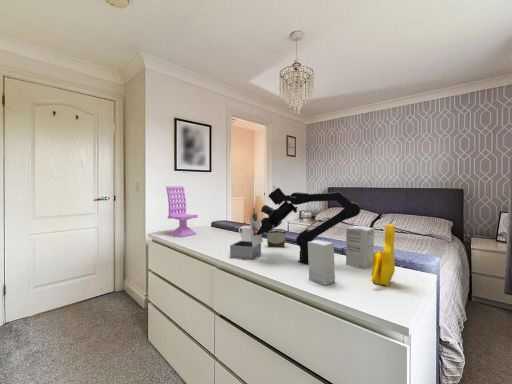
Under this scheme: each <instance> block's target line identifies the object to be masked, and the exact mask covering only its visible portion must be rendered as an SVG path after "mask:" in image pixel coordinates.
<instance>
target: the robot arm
mask: <svg viewBox="0 0 512 384" xmlns="http://www.w3.org/2000/svg"><path fill="white" fill-rule="evenodd" d="M267 197H268V198H269V199H270V200H271V201H272V203H274V205H276V206H277V205H278V208H276V209H274V208H272V207H270V206H269V205H267V204H264V205H263V206H262V207H261V209H260V212H262V213H263V214H265V215H267V217H266V216H265V217H263V218H262V219H260V222H261V227H260V229H259V231H258V232H257V235H260V234H262V235H263V234H267V233H266V232H268V231H270V230H272V229H276V228H277V227H279V226H280V225H281V224H282V223H283V222H282V221H283V220H285V219H286V218H287V217H288V216H289V215H290V214H291V213H292V212H293V213H295V214H296V213H298V205H302V204H306V203H313V202H315V203H316V202H330V201H331V202H333V201H335V202H337V203H338V204H339V205H340V206H341V207H343V208H342V209H341V210H340V211H339V212H338V213H336V214H335V215H333V216H331V217H330V218H328V219H327V220H325V221H323V222H322V223H321V224H318V225H317V226H315V227H313V228H312V229H309V228H308V227H307V228H306V229H305V230H302V231H300V232H299V233H298V236H296V240H295V241H296V245H298V247H299V260H298V261H297V262H298V263H301V264H304V265H306V266H307V265H308V266H309V261H308V242H310V241H314V240H315V239H316V238H317V237H318V236H320V235H322V234H323V233H324V232H326V231H328V230H330V229H331V228H333V227H335V226H337V225H338V224H340V223H341V222H344V221H346V220H349V219H353V218H354V217H357V216H359V214H360V212H361V207H360V205H359V203H357V202H354V201H351V200H350V199H349V198H347V197H346V196H345V195H343V194H342V192H340V191H335V192H334V191H333V192H320V193H307V192H306V193H305V192H299V191H298V192H292V193H291V194H287V195H286V194H285V193H284V191H282V189H281V188H280V187H277V188H276V189H275V190H273V191H271V192H270V193H269V195H267Z"/></svg>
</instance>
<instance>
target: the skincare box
mask: <svg viewBox="0 0 512 384" xmlns="http://www.w3.org/2000/svg"><path fill="white" fill-rule="evenodd" d="M334 245H335V244H334V242H331V241H327V240H326V241H325V240H320V239H313V240H312V241H310V242H308V261H309V265H308V279H309V280H310V281H313V282H315V283H318V284H321V285H324V286H327V285H331V284H333V283H335V282H336V275H335V273H336V271H335V268H336V267H335V247H334Z"/></svg>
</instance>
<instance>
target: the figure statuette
mask: <svg viewBox="0 0 512 384" xmlns="http://www.w3.org/2000/svg"><path fill="white" fill-rule="evenodd" d="M384 231H385V232H384V242H383V250H380V249H379V250H377V251H376V252H374V258H372V263H373V265H372V271H371V281H372V282H373V283H374V284H380V285H382V286H386V287H388V286H389V284H390V282H391V280H392V278H393V276H394V273H395V271H396V270H395V269H396V268H395V267H396V266H395V236H396V235H395V234H396V227H395V224H390V223H386V224H385V230H384Z"/></svg>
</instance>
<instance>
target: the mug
mask: <svg viewBox="0 0 512 384" xmlns="http://www.w3.org/2000/svg"><path fill="white" fill-rule="evenodd" d="M238 232H239V236H240V238H241V241H250V242H252V237H251V228H250V225H243V226H241V227H239V228H238Z"/></svg>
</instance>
